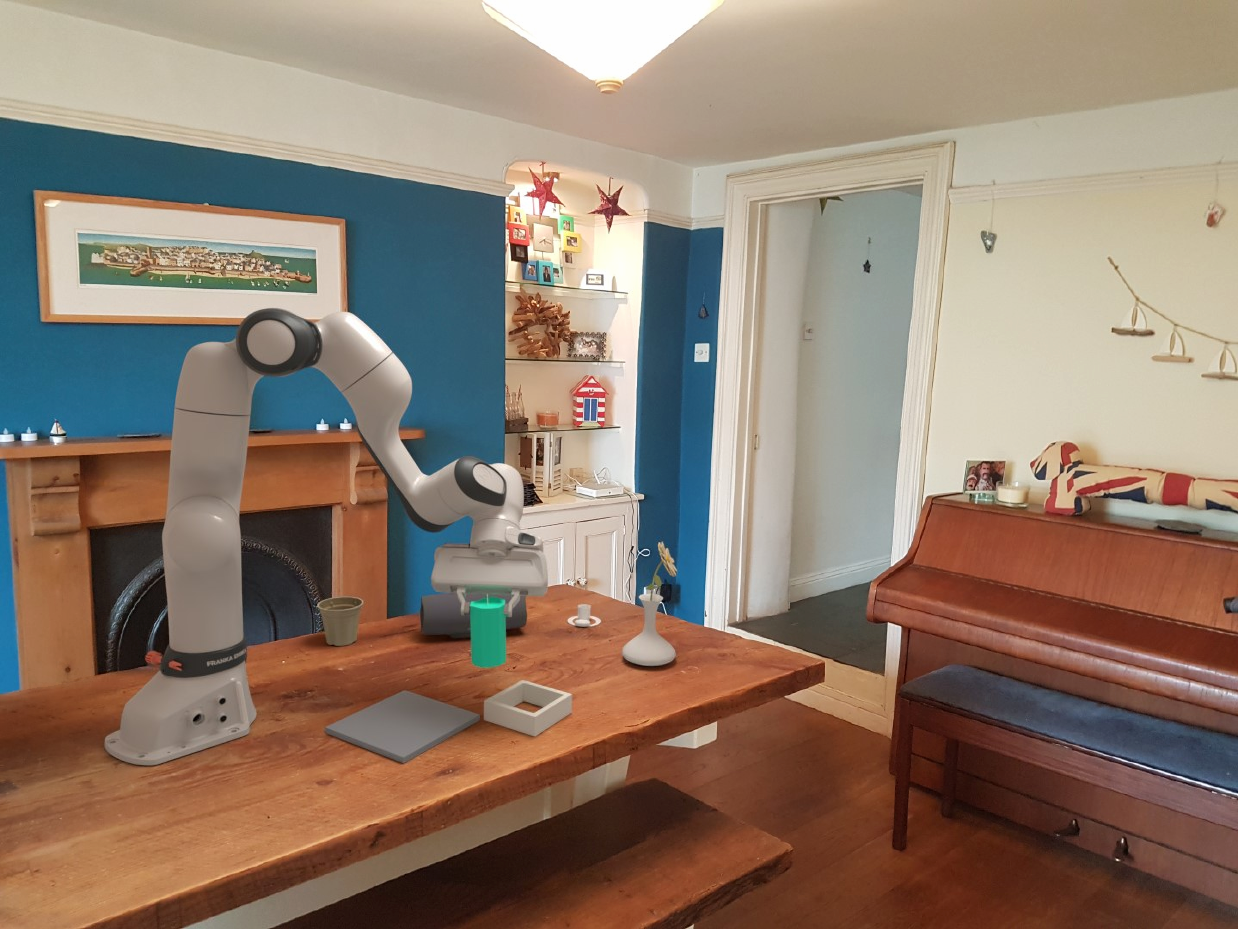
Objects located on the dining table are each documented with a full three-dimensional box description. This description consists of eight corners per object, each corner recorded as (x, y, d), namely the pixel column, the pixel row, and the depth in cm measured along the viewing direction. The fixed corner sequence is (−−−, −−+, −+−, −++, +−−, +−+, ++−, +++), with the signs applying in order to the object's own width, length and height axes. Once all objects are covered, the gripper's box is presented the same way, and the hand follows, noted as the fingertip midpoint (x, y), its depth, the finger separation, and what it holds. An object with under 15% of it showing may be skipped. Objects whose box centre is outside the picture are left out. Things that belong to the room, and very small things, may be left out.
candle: (503, 652, 145) (501, 587, 143) (509, 665, 139) (508, 597, 137) (469, 656, 143) (467, 590, 141) (473, 669, 137) (472, 600, 135)
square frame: (534, 736, 137) (535, 717, 136) (483, 720, 142) (484, 700, 142) (571, 712, 146) (572, 694, 146) (522, 697, 152) (522, 679, 151)
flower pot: (334, 653, 170) (334, 613, 169) (309, 642, 176) (308, 603, 175) (372, 641, 178) (372, 602, 177) (347, 631, 184) (346, 593, 182)
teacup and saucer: (586, 632, 189) (586, 615, 188) (558, 624, 193) (559, 608, 193) (607, 622, 196) (607, 605, 196) (580, 615, 201) (580, 599, 200)
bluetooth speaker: (519, 623, 192) (519, 582, 191) (527, 637, 183) (528, 594, 182) (419, 631, 185) (419, 588, 183) (423, 646, 176) (423, 601, 175)
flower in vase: (659, 675, 164) (664, 554, 160) (611, 662, 170) (614, 545, 166) (688, 656, 175) (693, 542, 171) (642, 644, 181) (646, 534, 177)
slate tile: (403, 763, 127) (403, 757, 127) (325, 732, 136) (324, 727, 136) (479, 720, 142) (479, 714, 142) (404, 695, 151) (404, 690, 151)
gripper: (434, 533, 144) (422, 603, 136) (550, 538, 145) (545, 608, 137) (438, 551, 149) (426, 620, 141) (550, 556, 150) (545, 625, 142)
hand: (486, 614), depth 139 cm, fingers closed on candle, 6 cm apart
